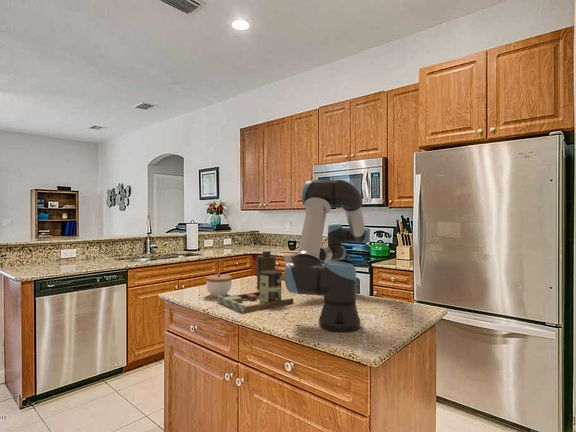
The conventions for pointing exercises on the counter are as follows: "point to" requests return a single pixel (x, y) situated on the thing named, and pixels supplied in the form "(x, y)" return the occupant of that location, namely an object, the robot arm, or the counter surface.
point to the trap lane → (237, 299)
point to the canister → (264, 264)
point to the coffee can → (270, 286)
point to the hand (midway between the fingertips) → (285, 258)
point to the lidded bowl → (218, 284)
